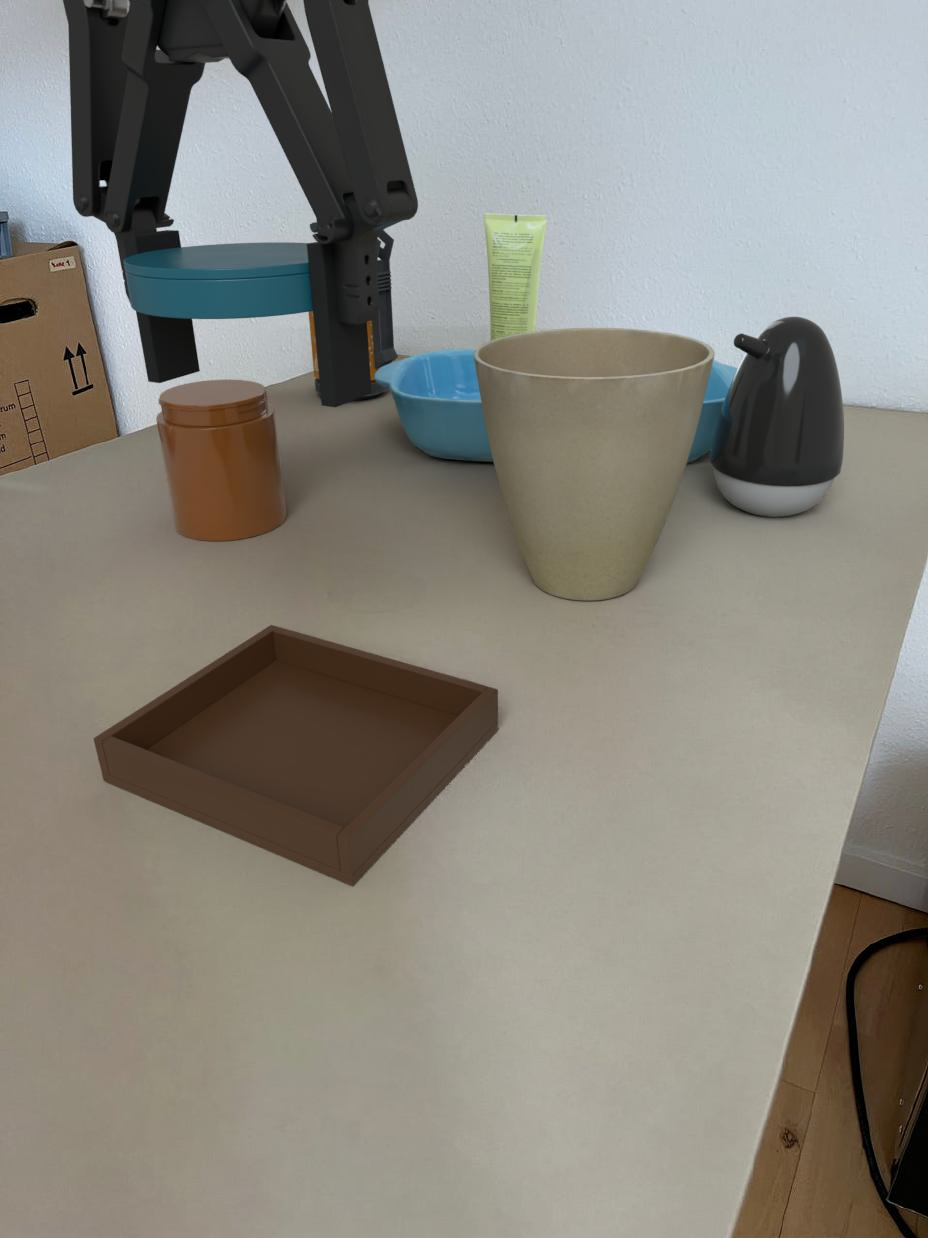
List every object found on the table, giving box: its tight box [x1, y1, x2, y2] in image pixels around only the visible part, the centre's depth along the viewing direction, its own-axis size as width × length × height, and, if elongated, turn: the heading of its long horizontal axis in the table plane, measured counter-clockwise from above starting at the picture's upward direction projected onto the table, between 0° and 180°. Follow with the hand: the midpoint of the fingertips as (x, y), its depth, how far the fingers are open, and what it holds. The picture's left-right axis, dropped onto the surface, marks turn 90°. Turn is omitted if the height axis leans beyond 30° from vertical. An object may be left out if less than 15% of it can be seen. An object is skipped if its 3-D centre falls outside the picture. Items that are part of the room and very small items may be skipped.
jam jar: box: [155, 379, 287, 542], centre depth 75 cm, size 9×9×11 cm
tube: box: [483, 212, 548, 341], centre depth 110 cm, size 6×5×20 cm
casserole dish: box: [374, 348, 738, 464], centre depth 93 cm, size 37×22×7 cm, turn 85°
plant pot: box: [474, 327, 716, 602], centre depth 63 cm, size 15×15×16 cm
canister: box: [308, 217, 399, 401], centre depth 108 cm, size 9×11×20 cm
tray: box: [93, 624, 499, 887], centre depth 48 cm, size 15×13×3 cm
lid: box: [124, 241, 313, 320], centre depth 41 cm, size 10×10×2 cm
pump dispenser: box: [709, 316, 845, 518], centre depth 74 cm, size 10×10×15 cm
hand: (256, 387), depth 44 cm, fingers closed on lid, 10 cm apart
